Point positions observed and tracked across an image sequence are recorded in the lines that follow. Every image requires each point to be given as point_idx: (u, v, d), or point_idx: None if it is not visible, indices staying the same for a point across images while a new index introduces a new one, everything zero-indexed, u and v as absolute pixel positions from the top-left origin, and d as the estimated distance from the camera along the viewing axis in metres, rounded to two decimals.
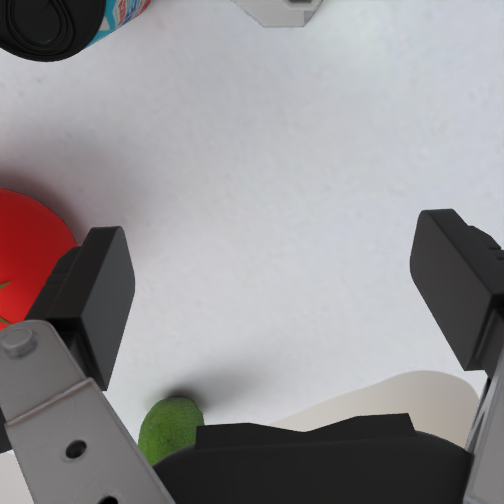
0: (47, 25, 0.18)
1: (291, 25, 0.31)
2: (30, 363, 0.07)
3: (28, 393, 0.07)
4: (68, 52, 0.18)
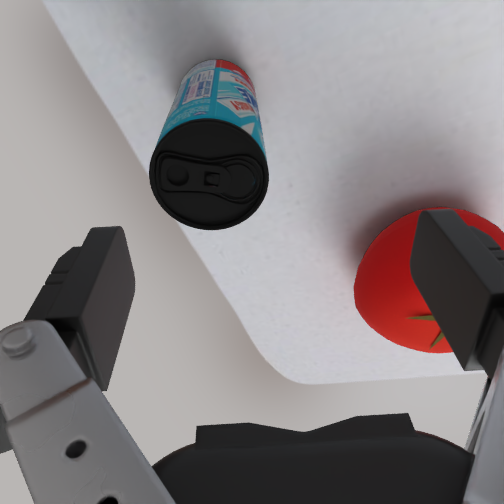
0: (242, 175, 0.22)
1: None
2: (30, 363, 0.07)
3: (28, 393, 0.07)
4: (263, 165, 0.21)
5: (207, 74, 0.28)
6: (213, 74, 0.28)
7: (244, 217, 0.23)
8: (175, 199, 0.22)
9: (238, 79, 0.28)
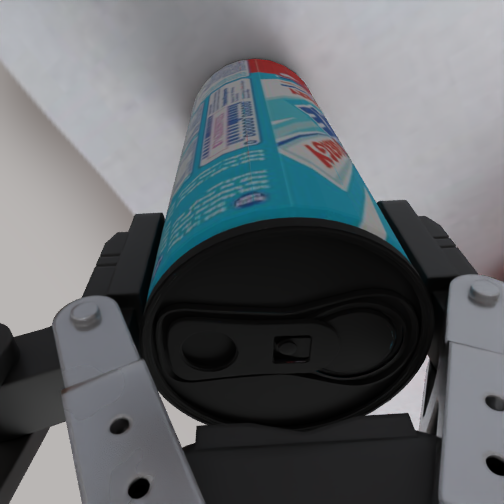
0: (366, 331, 0.09)
1: None
2: (94, 337, 0.08)
3: (103, 359, 0.07)
4: (422, 308, 0.08)
5: (239, 88, 0.15)
6: (250, 87, 0.15)
7: (369, 408, 0.10)
8: (209, 390, 0.10)
9: (295, 89, 0.16)
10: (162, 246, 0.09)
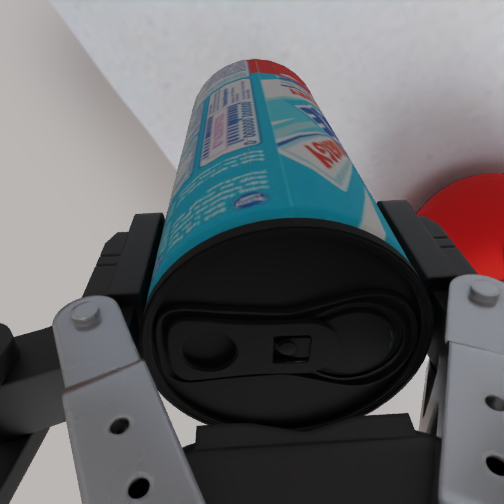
0: (365, 331, 0.09)
1: None
2: (94, 336, 0.08)
3: (103, 359, 0.07)
4: (422, 308, 0.08)
5: (239, 88, 0.15)
6: (250, 87, 0.15)
7: (368, 408, 0.10)
8: (209, 390, 0.10)
9: (295, 89, 0.16)
10: (162, 246, 0.09)
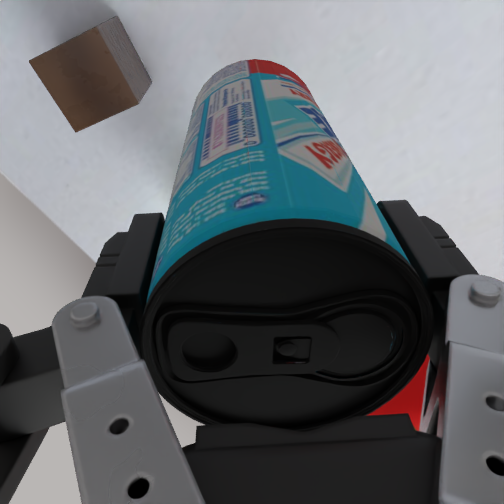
0: (366, 332, 0.09)
1: None
2: (93, 337, 0.08)
3: (102, 360, 0.07)
4: (422, 309, 0.08)
5: (239, 89, 0.15)
6: (250, 87, 0.15)
7: (369, 409, 0.10)
8: (209, 391, 0.10)
9: (295, 90, 0.16)
10: (162, 247, 0.09)
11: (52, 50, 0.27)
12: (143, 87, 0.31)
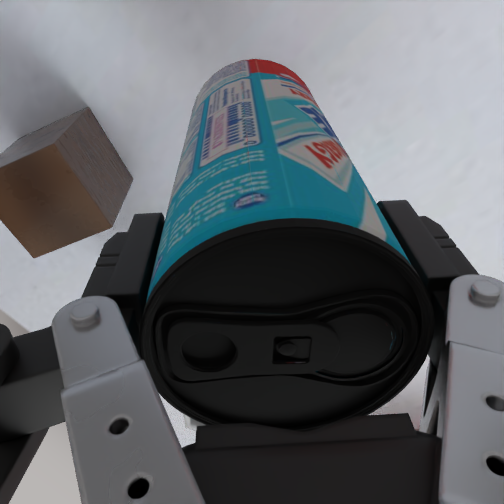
0: (365, 331, 0.09)
1: None
2: (93, 337, 0.08)
3: (102, 360, 0.07)
4: (422, 309, 0.08)
5: (239, 88, 0.15)
6: (250, 87, 0.15)
7: (369, 409, 0.10)
8: (209, 391, 0.10)
9: (295, 89, 0.16)
10: (162, 247, 0.09)
11: None
12: (120, 196, 0.25)
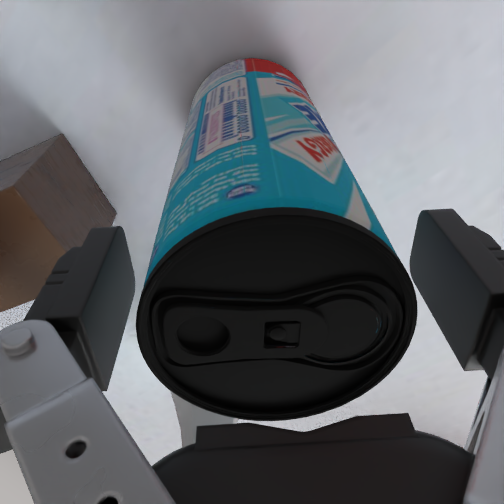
0: (352, 317, 0.09)
1: None
2: (31, 363, 0.07)
3: (28, 393, 0.07)
4: (405, 295, 0.09)
5: (235, 87, 0.15)
6: (246, 85, 0.15)
7: (357, 393, 0.10)
8: (203, 375, 0.10)
9: (290, 88, 0.16)
10: (158, 236, 0.10)
11: None
12: None
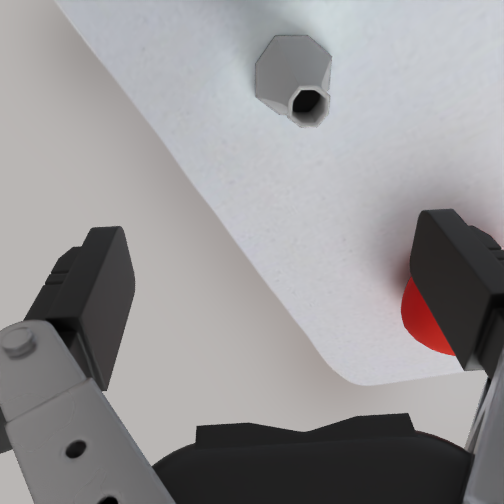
0: None
1: (330, 69, 0.39)
2: (31, 363, 0.07)
3: (28, 393, 0.07)
4: None
5: None
6: None
7: None
8: None
9: None
10: None
11: None
12: None
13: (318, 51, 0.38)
